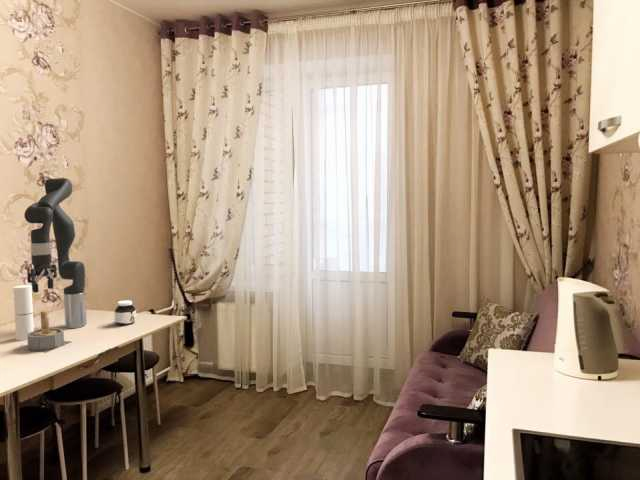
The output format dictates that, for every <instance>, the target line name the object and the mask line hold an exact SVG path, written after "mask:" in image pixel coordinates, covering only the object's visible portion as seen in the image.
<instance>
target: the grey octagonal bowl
mask: <svg viewBox="0 0 640 480" xmlns="http://www.w3.org/2000/svg"><path fill="white" fill-rule="evenodd" d="M64 334H65V333H64V330H63V328H57V327H56V328H55V327H49V333H48V334H42V330H41V329H35V330H34V331H32V332H29V333H27V340H26V341H27V347H28V349H29V350H33V351H42V350H50V349H54V348H56V349H58V347H59V348H61V347H63V346H62V345H63V343H64V341H65V338H64V337H65V335H64ZM60 346H61V347H60ZM54 350H55V349H54Z"/></svg>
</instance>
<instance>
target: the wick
mask: <svg viewBox="0 0 640 480" xmlns="http://www.w3.org/2000/svg"><path fill="white" fill-rule="evenodd" d="M40 326H41V330H42V334H48V333H49V328H50V317H49V311H41V312H40Z"/></svg>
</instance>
